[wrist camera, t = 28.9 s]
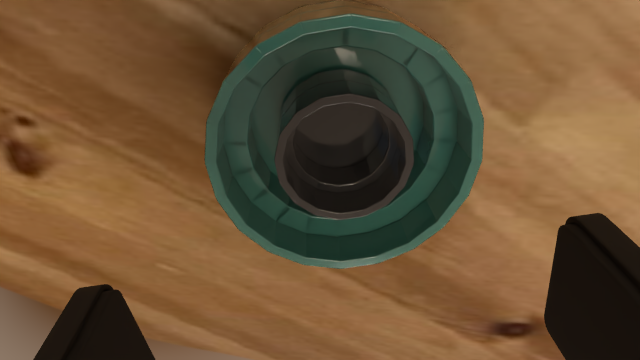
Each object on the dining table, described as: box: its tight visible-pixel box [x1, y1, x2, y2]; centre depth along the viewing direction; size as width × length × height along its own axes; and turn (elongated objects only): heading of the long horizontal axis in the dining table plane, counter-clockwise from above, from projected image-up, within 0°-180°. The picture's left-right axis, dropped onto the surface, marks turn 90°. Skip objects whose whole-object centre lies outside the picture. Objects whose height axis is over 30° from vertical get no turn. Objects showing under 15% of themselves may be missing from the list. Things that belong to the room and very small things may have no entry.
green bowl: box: [205, 0, 484, 269], centre depth 25 cm, size 14×14×6 cm
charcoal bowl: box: [274, 69, 414, 220], centre depth 24 cm, size 7×7×5 cm
